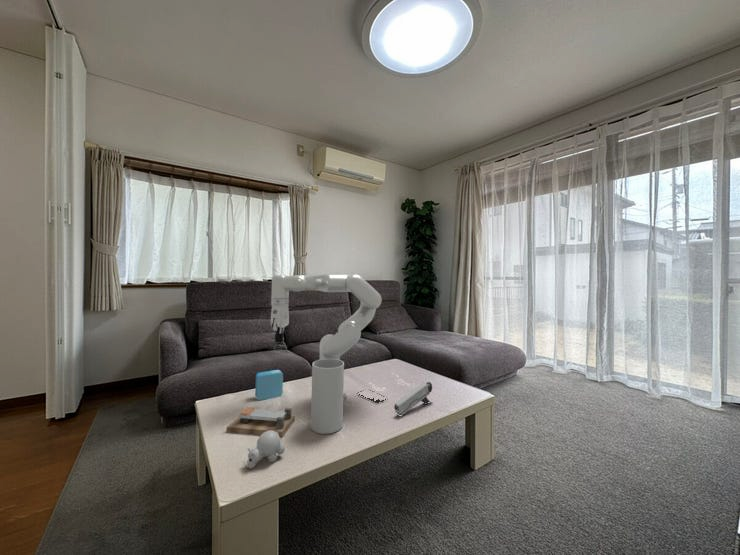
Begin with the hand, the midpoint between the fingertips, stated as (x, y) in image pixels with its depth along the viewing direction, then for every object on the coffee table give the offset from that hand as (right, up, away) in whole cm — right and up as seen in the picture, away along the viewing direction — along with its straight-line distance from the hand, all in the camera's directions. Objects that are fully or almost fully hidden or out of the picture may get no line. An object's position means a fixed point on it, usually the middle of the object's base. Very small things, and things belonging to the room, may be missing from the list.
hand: (279, 341), depth 127 cm
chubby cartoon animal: (+8, -29, -39) cm, 49 cm away
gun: (+62, -31, 0) cm, 69 cm away
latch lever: (0, -25, -18) cm, 31 cm away
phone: (+43, -31, +11) cm, 54 cm away
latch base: (-1, -29, -18) cm, 34 cm away
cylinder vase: (+25, -30, -17) cm, 42 cm away
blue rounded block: (-8, -29, +9) cm, 32 cm away
